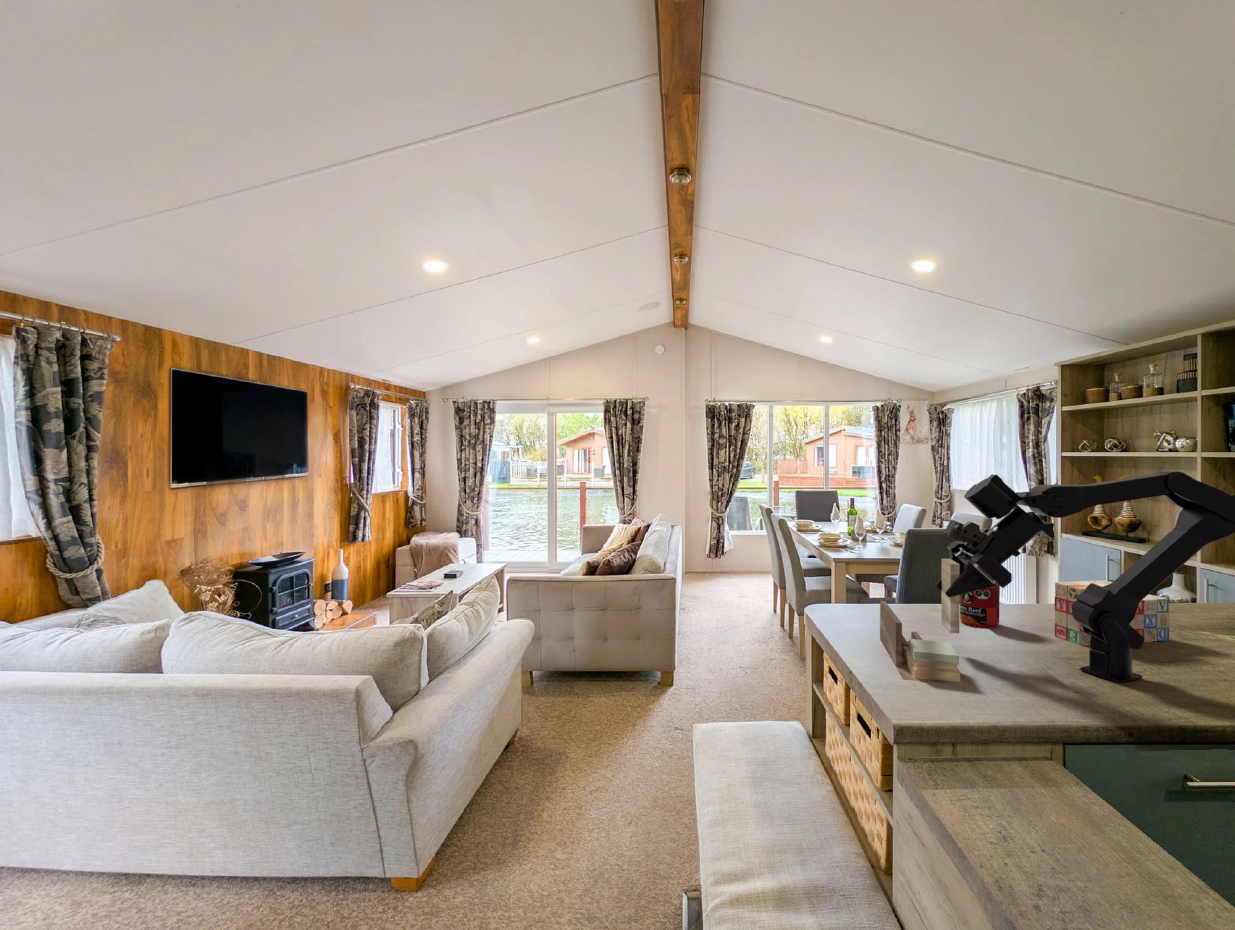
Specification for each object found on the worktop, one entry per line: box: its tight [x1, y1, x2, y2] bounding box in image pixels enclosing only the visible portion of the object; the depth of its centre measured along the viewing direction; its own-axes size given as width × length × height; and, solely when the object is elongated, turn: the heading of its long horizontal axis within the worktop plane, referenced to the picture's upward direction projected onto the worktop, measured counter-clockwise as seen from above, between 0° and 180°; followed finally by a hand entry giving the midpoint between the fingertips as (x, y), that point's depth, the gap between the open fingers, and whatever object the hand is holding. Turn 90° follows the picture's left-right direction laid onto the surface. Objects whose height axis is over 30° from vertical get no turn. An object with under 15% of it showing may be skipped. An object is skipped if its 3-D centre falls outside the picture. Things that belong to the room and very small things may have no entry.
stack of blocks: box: [1054, 579, 1171, 646], centre depth 124 cm, size 21×6×12 cm, turn 97°
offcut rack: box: [879, 600, 972, 687], centre depth 107 cm, size 10×22×10 cm, turn 165°
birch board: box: [940, 558, 960, 634], centre depth 110 cm, size 2×6×13 cm, turn 164°
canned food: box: [959, 580, 1001, 629], centre depth 135 cm, size 8×8×11 cm
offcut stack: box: [902, 638, 960, 682], centre depth 101 cm, size 8×8×4 cm
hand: (942, 591), depth 111 cm, fingers closed on birch board, 6 cm apart
